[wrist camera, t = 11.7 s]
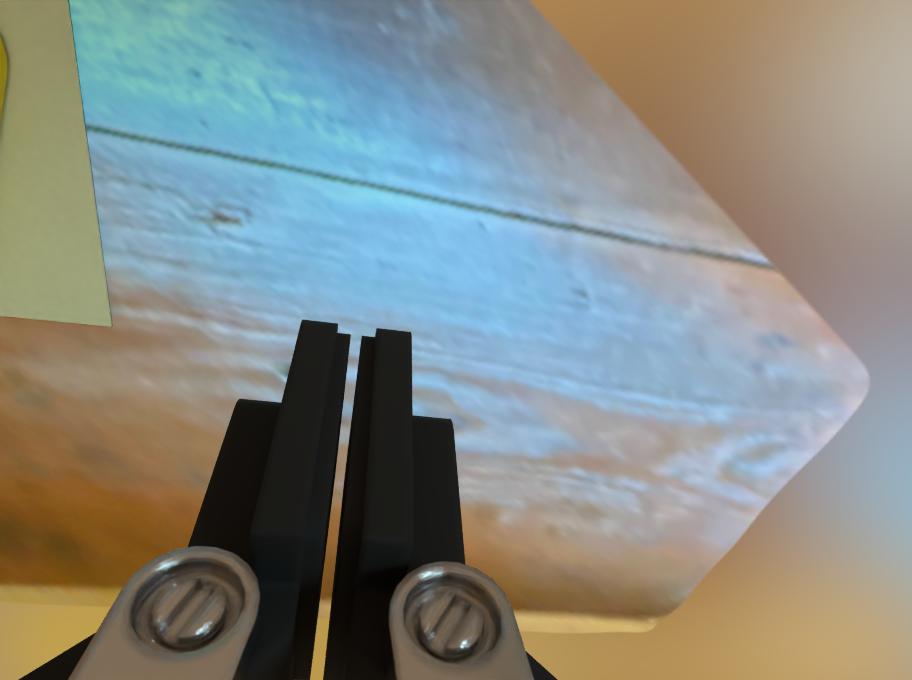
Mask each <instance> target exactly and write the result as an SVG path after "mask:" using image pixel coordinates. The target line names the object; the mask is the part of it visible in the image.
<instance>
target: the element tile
mask: <svg viewBox="0 0 912 680" xmlns="http://www.w3.org/2000/svg"><path fill="white" fill-rule="evenodd" d="M7 71H8V69H7V56H6V53H5V49H4V46H3V42H2V39H1V38H0V122H1V115H2V107H3V100H4V93H5V85H6V78H7Z"/></svg>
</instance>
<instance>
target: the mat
mask: <svg viewBox="0 0 912 680" xmlns="http://www.w3.org/2000/svg"><path fill="white" fill-rule="evenodd" d="M0 38H1V39H2V42H3V46H4V49H5V53H6V56H7V69H8V71H7V78H6V85H5V93H4V100H3V107H2V115H1V122H0V316H8V317H18V318H28V319H38V320H48V321H58V322H68V323H78V324H88V325H98V326H108V327H112V320H111V313H110V305H109V298H108V291H107V283H106V276H105V268H104V261H103V254H102V246H101V239H100V231H99V224H98V216H97V209H96V202H95V194H94V187H93V179H92V172H91V164H90V157H89V150H88V142H87V135H86V127H85V120H84V112H83V105H82V98H81V90H80V83H79V75H78V68H77V60H76V53H75V46H74V38H73V31H72V23H71V16H70V9H69V1H68V0H0Z"/></svg>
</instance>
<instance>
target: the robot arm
mask: <svg viewBox="0 0 912 680" xmlns="http://www.w3.org/2000/svg"><path fill="white" fill-rule="evenodd" d="M337 331H338V324H336V323H328V322H319V321H310V320H302V322H301V325H300V329H299V333H298V337H297V342H296V346H295V350H294V354H293V358H292V362H291V366H290V370H289V374H288V378H287V382H286V386H285V390H284V394H283V399H282V403H278V402H268V401H257V400H247V399H239V400H238V401H237V403H236V405H235V408H234V411H233V414H232V417H231V420H230V423H229V426H228V429H227V431H226V434H225V437H224V440H223V443H222V446H221V449H220V452H219V455H218V458H217V461H216V464H215V467H214V470H213V473H212V476H211V479H210V482H209V485H208V488H207V491H206V494H205V497H204V500H203V503H202V506H201V509H200V512H199V515H198V518H197V521H196V524H195V527H194V530H193V533H192V536H191V539H190V542H189V545H188V548H182V549H177V550H173V551H171V552H168V553H166V554H164V555H162V556H159V557H157V558H155V559H153V560H152V561H150V562H149V563H147V564H146V565H145V566H143V567H142V568H141V569H139V570H138V571H137V572H135V574H134V575H133V576H132V577H131V579H130V580H129V581H128V582H127V584H126V585H125V586H124V587H123V589H122V590H121V592H120V593H119V595H118V597H117V598H116V600H115V602H114V603H113V605H112V607H111V608H110V610H109V612H108V614H107V615H106V617H105V618H104V620H103V622H102V623H101V625H100V627H99V629H98V630H97V632H96V633H94V634H93V635H91V636H90V637H88V638H86V639H84V640H83V641H81V642H80V643H78V644H77V645H75V646H73V647H71V648H70V649H68V650H67V651H65V652H63V653H62V654H60V655H58V656H57V657H55V658H54V659H52V660H50V661H49V662H47V663H45V664H44V665H42V666H40V667H39V668H37V669H35V670H34V671H32V672H30V673H29V674H27V675H25V676H24V677H22V678H21V679H19V680H310V675H311V667H312V659H313V651H314V642H315V634H316V625H317V618H318V610H319V602H320V594H321V586H322V577H323V569H324V561H325V553H326V545H327V537H328V529H329V521H330V513H331V504H332V496H333V488H334V480H335V472H336V463H337V454H338V445H339V436H340V427H341V418H342V409H343V400H344V391H345V382H346V373H347V364H348V355H349V346H350V336H351V334H342V333H337ZM323 680H557V679H556V678H555V677H554V676H553V675H552V674H551V673H549V672H548V671H547V670H546V669H545V668H544V667H542V665H540V664H539V663H538V662H537V661H536V660H535V659H534V658H533V657H532V656H531V655H529V654H528V653H527V652H526V651H525V648H524V645H523V642H522V639H521V635H520V632H519V629H518V625H517V622H516V619H515V616H514V612H513V609H512V607H511V605H510V603H509V601H508V599H507V597H506V595H505V593H504V592H503V591H502V589H501V588H500V587H499V586H498V585H497V584H496V583H495V582H494V580H493V579H491V578H490V577H488V576H487V575H485V574H484V573H482V572H481V571H479V570H478V569H476V568H473V567H470V566H467V565H465V555H464V544H463V532H462V521H461V509H460V498H459V486H458V475H457V463H456V452H455V440H454V429H453V423H452V421H451V419H443V418H433V417H423V416H412V336H411V332H405V331H396V330H388V329H379V328H377V329H376V335H375V337H368V336H362V339H361V347H360V355H359V364H358V372H357V380H356V388H355V396H354V405H353V413H352V421H351V429H350V437H349V445H348V454H347V462H346V470H345V479H344V489H343V498H342V508H341V517H340V526H339V536H338V545H337V555H336V564H335V573H334V583H333V592H332V602H331V611H330V620H329V630H328V639H327V649H326V658H325V667H324V677H323Z"/></svg>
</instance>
